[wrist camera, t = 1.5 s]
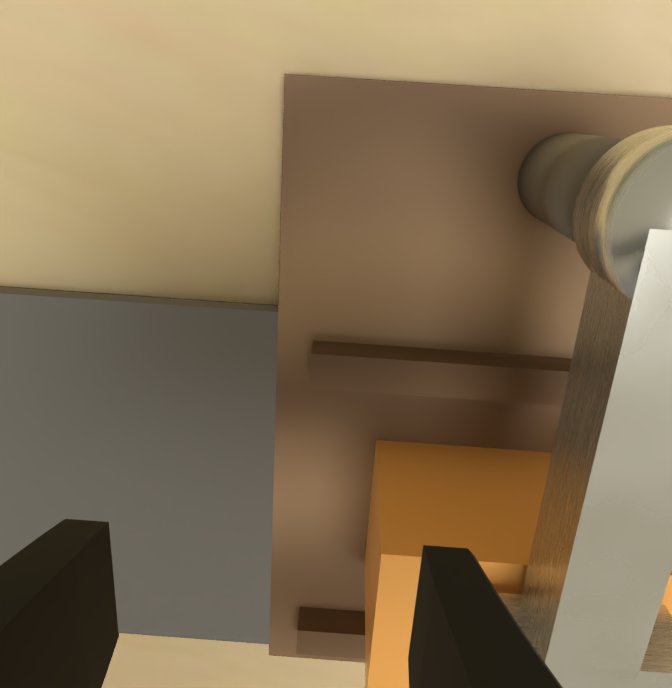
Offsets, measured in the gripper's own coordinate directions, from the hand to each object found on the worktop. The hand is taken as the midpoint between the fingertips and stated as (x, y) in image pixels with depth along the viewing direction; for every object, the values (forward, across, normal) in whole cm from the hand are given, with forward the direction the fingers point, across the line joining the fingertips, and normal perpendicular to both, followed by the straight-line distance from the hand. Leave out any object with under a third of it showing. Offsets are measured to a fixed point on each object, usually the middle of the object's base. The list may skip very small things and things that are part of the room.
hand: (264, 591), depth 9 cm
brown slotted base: (+10, -6, +2) cm, 12 cm away
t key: (+4, -6, -1) cm, 7 cm away
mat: (+10, +8, +5) cm, 14 cm away
